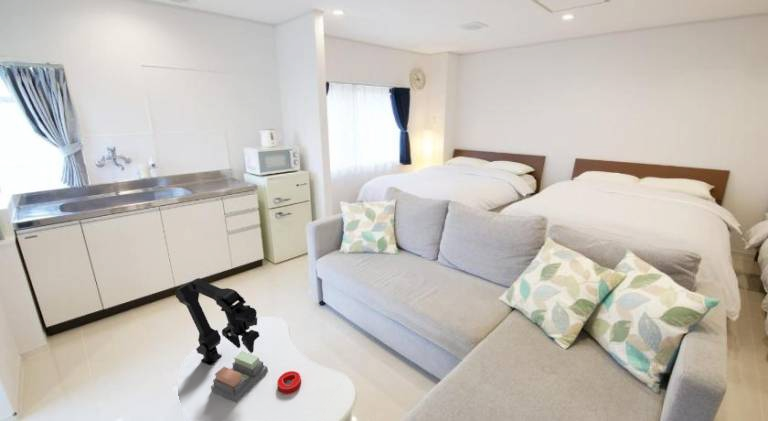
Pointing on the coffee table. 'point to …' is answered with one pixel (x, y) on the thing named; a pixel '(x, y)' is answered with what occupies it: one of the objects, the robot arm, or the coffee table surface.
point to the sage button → (247, 360)
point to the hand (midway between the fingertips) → (245, 349)
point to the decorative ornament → (286, 377)
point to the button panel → (244, 386)
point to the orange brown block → (228, 377)
